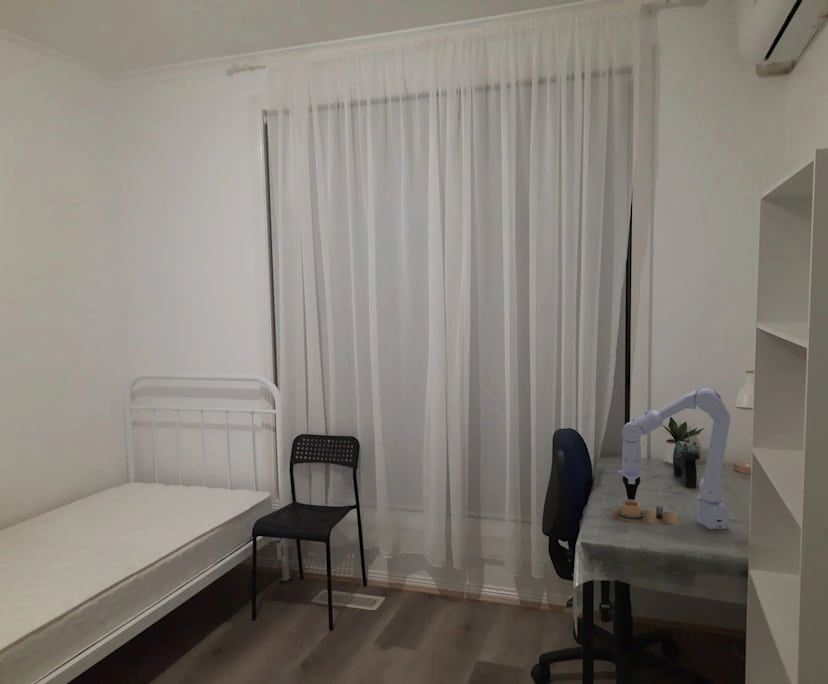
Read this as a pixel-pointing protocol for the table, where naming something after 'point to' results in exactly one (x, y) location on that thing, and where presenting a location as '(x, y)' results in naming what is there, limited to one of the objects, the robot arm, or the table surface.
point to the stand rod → (659, 512)
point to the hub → (630, 515)
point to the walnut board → (650, 517)
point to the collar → (631, 508)
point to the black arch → (686, 461)
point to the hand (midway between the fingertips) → (631, 499)
